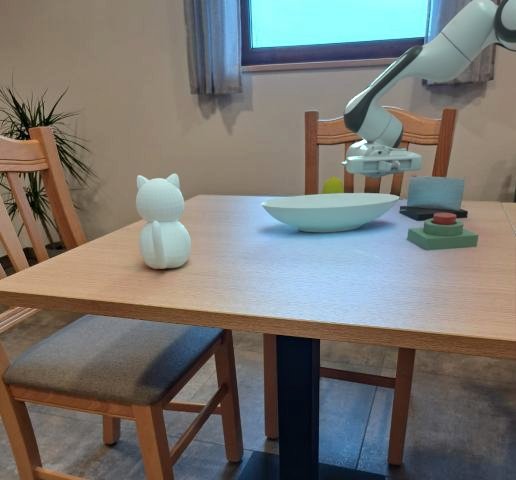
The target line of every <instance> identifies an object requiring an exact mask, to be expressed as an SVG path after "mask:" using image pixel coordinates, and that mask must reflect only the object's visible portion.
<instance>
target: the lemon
mask: <svg viewBox="0 0 516 480" xmlns="http://www.w3.org/2000/svg"><path fill="white" fill-rule="evenodd" d="M338 193H345V187H344V183H343V181H342V180H341V179H340V178H338V177H336V176H335V175H332V176H331V177H330V178H328V179H327V180H325V182H324V184H323V187H322V192H321V194H338Z"/></svg>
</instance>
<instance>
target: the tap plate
mask: <svg viewBox="0 0 516 480" xmlns="http://www.w3.org/2000/svg"><path fill="white" fill-rule="evenodd" d="M464 207H466V205H461V209H460V210H459V211H452V210H439V209H425V208H412V207H407V205H400V206H399V213H400V214H402V215H403V216H405V217H408V218H410V219H412V220H415V221H416V222H425V220H427V219H432V218H433V215H434V214H435V213H452V214H455V215H456V219H466V218H468V215H469V211H468V210H465V209H463V208H464Z"/></svg>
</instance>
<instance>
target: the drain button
mask: <svg viewBox="0 0 516 480" xmlns="http://www.w3.org/2000/svg"><path fill="white" fill-rule="evenodd" d="M456 220H457V218H456V215H455V214H452V213H435V214H434V215H433V223H434V224H439V225H454V224H455V221H456Z"/></svg>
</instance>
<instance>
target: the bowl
mask: <svg viewBox="0 0 516 480" xmlns="http://www.w3.org/2000/svg"><path fill="white" fill-rule="evenodd" d="M399 200H400V196H398V195H396V194H391V193H390V194H389V193H376V192H375V193H374V192H353V193H352V192H344V193H338V194H322V193H320V194H319V193H318V194H306V195H295V196H287V197H279V198H278V197H277V198H272V199H268V200H265V201H262V202H261V206H262V208H263V209H264V210H265V211H266V212H267V213H268V214H269V215H270V216H271V218H274V220H276V221H278V222H280V223H282V224H285V225H286V226H290V227H293V228H296V229H298V231H300V232H306V233H339V232H346V231H353V230H357V229H360V228H361V227H362V226H363V225H365V224H369V223H371V222H374V221H375V220H377V219H379V218H380V217H382V216H384V215H385V214H387V213H388V212H389V211H390V210H391V209H392V208H393V207H394V206H395V205H396V203H398V201H399Z"/></svg>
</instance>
